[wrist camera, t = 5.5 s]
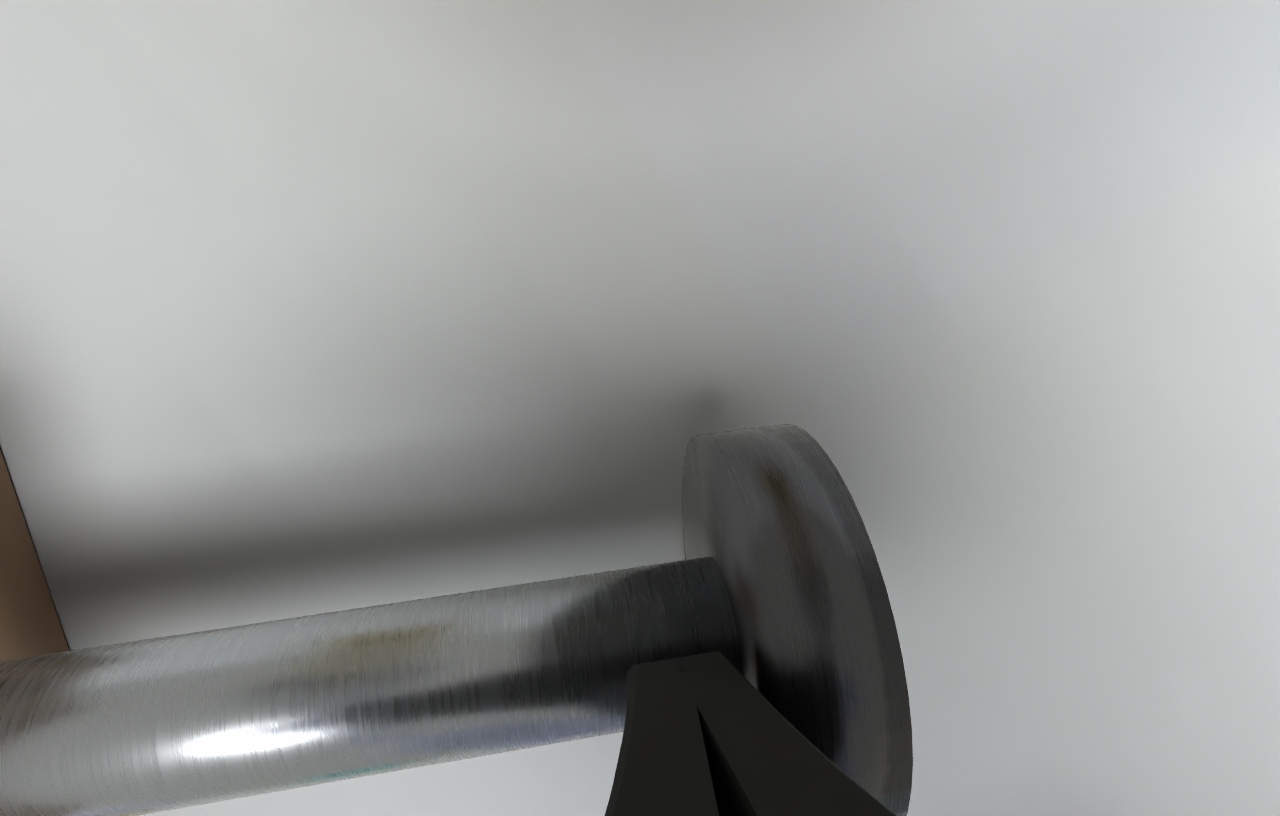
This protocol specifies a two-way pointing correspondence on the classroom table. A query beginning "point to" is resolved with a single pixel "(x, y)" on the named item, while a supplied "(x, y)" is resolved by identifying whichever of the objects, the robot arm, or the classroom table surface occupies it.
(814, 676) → the shaft
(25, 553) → the bearing block
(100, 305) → the classroom table surface
